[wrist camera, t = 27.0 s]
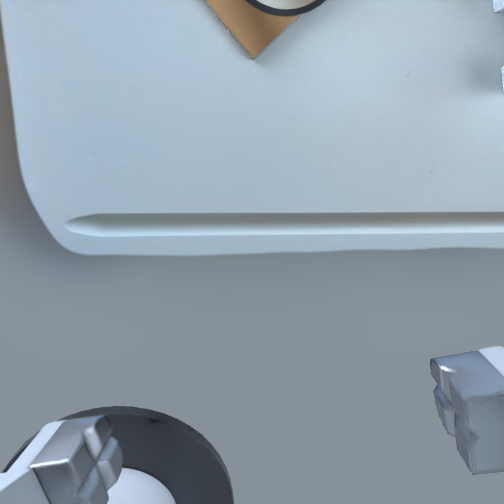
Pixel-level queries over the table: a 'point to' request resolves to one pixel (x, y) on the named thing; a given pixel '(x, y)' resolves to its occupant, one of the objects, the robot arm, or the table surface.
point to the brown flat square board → (259, 19)
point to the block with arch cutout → (500, 3)
